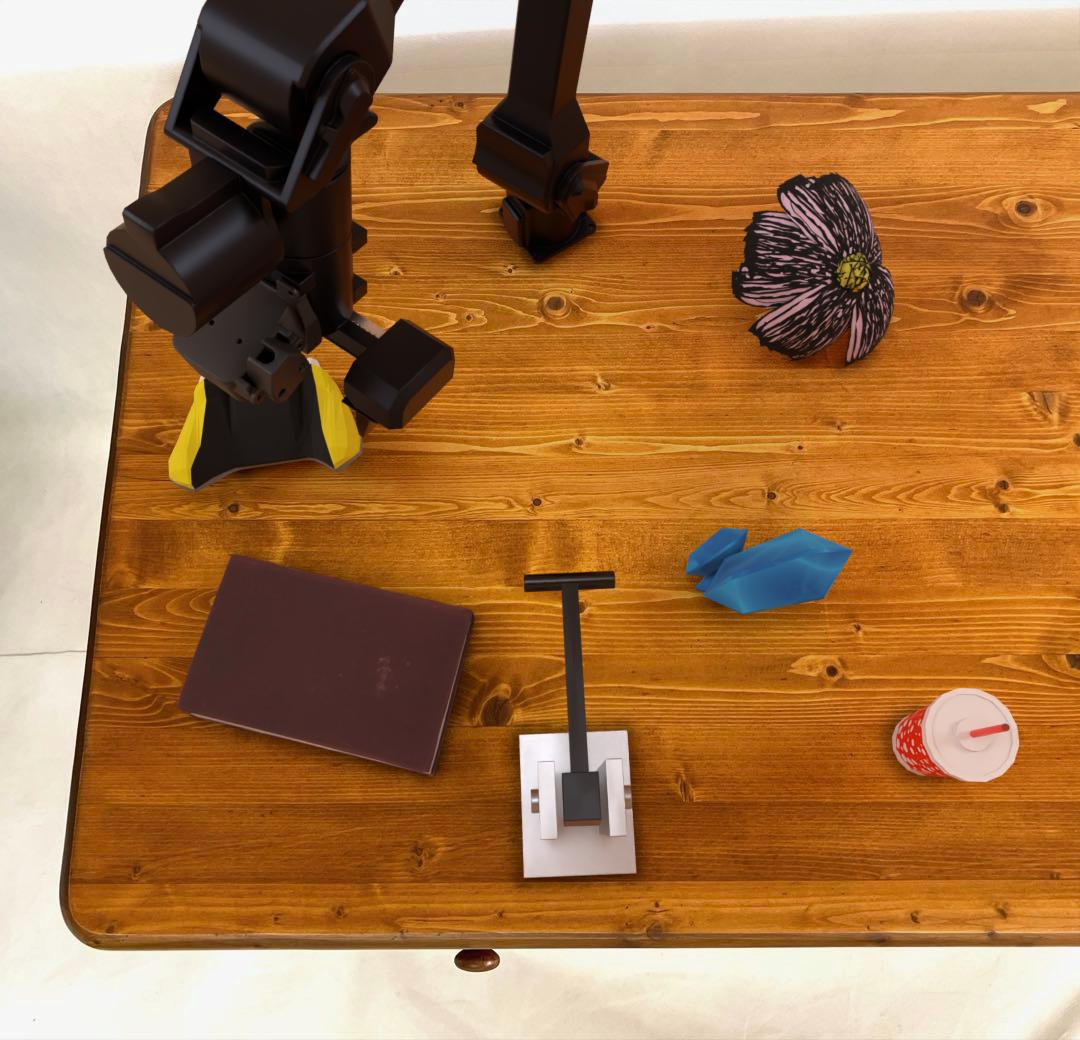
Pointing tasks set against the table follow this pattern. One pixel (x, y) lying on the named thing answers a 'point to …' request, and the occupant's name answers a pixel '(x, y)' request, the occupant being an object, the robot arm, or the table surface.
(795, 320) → the decorative flower
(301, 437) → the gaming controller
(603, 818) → the bracket
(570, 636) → the lever
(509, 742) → the table surface
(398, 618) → the book
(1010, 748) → the beverage cup
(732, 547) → the crystal
